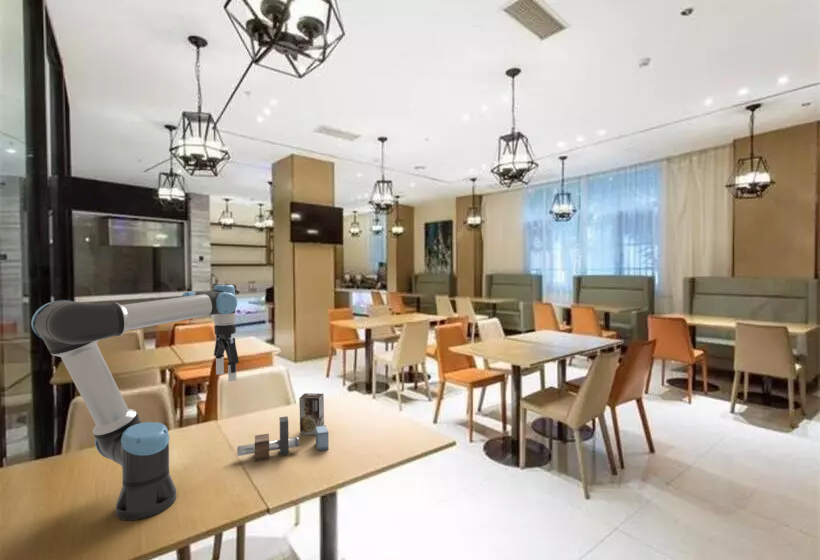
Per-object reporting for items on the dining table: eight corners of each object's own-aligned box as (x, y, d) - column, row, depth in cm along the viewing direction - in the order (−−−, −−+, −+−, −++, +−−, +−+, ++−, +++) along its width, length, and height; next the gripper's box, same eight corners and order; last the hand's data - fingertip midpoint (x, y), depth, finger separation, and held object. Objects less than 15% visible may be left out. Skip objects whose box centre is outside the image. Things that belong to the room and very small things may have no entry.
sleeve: (269, 459, 145) (269, 440, 145) (254, 461, 143) (254, 443, 143) (269, 451, 151) (268, 433, 151) (255, 453, 150) (255, 435, 149)
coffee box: (324, 429, 172) (324, 393, 172) (319, 435, 166) (319, 398, 165) (304, 428, 173) (304, 392, 173) (299, 434, 167) (298, 397, 166)
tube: (237, 462, 142) (236, 427, 142) (238, 456, 147) (237, 422, 146) (299, 452, 150) (299, 419, 149) (298, 447, 154) (297, 414, 154)
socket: (328, 449, 153) (328, 431, 153) (318, 451, 151) (318, 433, 151) (325, 442, 159) (325, 425, 159) (315, 443, 158) (315, 426, 158)
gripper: (247, 326, 146) (248, 381, 147) (224, 320, 164) (224, 369, 164) (226, 328, 141) (227, 386, 141) (204, 321, 159) (205, 373, 159)
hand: (226, 377), depth 153 cm, fingers open, 13 cm apart
